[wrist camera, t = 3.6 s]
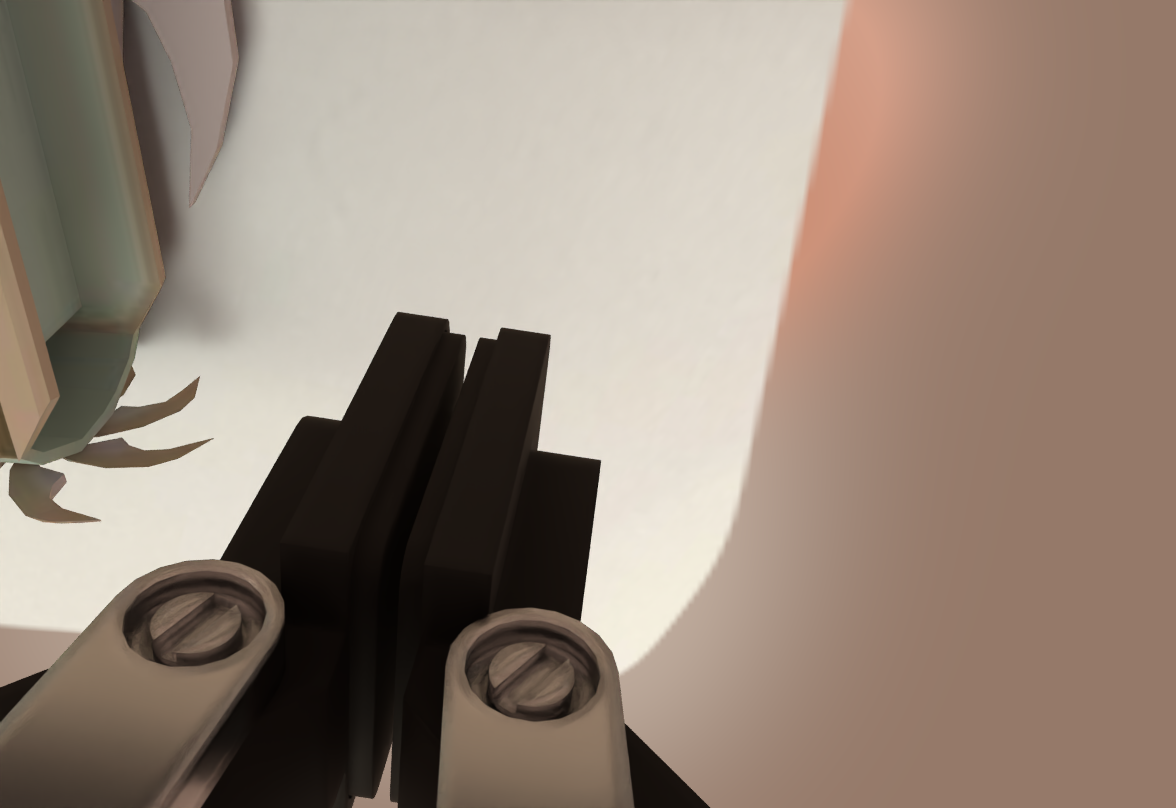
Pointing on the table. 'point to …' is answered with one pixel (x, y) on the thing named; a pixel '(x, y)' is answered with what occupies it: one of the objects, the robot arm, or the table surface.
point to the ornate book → (87, 227)
